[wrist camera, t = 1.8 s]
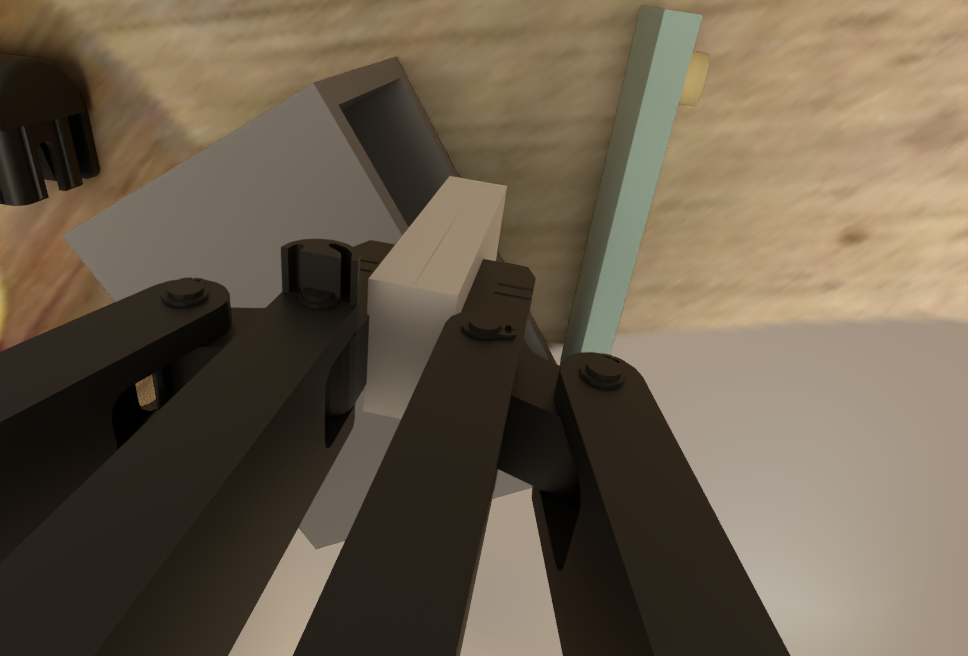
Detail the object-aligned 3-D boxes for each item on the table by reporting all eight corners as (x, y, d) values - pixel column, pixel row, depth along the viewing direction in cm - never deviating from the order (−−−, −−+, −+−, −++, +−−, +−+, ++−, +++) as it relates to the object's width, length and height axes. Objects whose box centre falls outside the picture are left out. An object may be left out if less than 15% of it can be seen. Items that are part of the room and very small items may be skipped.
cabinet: (375, 427, 44) (316, 549, 34) (200, 172, 36) (61, 235, 27) (556, 363, 39) (546, 483, 29) (396, 56, 32) (313, 82, 22)
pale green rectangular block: (558, 368, 39) (549, 482, 29) (640, 5, 29) (664, 9, 20) (599, 375, 38) (603, 493, 29) (696, 13, 28) (747, 21, 19)
